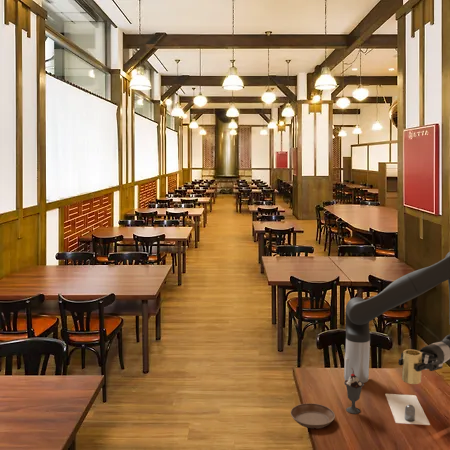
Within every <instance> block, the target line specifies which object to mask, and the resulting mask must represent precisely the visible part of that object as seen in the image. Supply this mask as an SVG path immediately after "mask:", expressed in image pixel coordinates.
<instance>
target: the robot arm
mask: <svg viewBox="0 0 450 450" xmlns="http://www.w3.org/2000/svg"><path fill="white" fill-rule="evenodd" d="M446 281H447V282H448V298H449V299H448V301H449V303H448V307H449V309H448V311H449V313H448V318H449V320H448V321H449V324H450V251H449V252H448V253H447V254H445V257H444V258H443V259H440V260H439V261H438V262H435V263H433V264H432V265H430V266H426V267H423V268H419V269H416V270H414V271H411V272H409V273H407V274H404V275H402V276H401V277H398V278H397V279H395V280H393V281H392V282H391V283H389V284H388V285H387V286H386V287H385V288H384V289H382V291H380V292H379V293H377V294H376V295H374V296H372V297H369V298H367V299H365V298H362V297H360V296H357V297H352V298H350V300H349V301H348V302H347V303H346V306H345V321H344V322H345V354H344V364H343V365H344V368H343V369H344V371H343V378H344V381H345V380H349V378H350V377H351V374H353V371H354V374H355V376H356V377H357V378H358V380H359V381H361V382H362V383H363V384H364V383H367V382H368V381H369V378H370V377H369V376H370V375H369V374H370V372H369V371H370V348H371V347H370V345H371V332H370V331H371V330H370V322H372V321H373V320H374V319H375V318H377V317H379V316H381V315H383V314H384V313H386V312H388V311H389V310H392V309H394V308H396V307H398V306H401V305H402V304H405V303H407V302H409V301H412V300H413V299H416V298H417V297H419V296H421V295H423V294H425V293H426V292H428V291H430V290H432V289H434V288H436V287H437V286H438V285H440V284H442V283H443V282H446ZM419 351H420V352H421V353H422V363H420V364H417V365H416V371H417V372H419V371H421V372H422V371H424V370H425V371H427V370H428V371H429V372H434V371H437V370H441V369H443V364H444V363H446V362H447V361H450V334H448V335H446V336H445V337H444V338H443V339H442V340H440V341H436V342H433V343H431V344H428V345H425V346H422V348H420V350H419ZM398 365H399V366H403V352H402V353H400V358H398ZM352 369H353V370H352Z"/></svg>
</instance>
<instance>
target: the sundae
mask: <svg viewBox="0 0 450 450" xmlns="http://www.w3.org/2000/svg"><path fill="white" fill-rule="evenodd" d="M352 370H353V369H352ZM343 384H344V386H345V387H346V395H347V399H349V401H350V402H351V406H348V407H346V409H345V410H346V412H347V413H348V414H352V415H357V414H359V413H361V410H360V408H359V407H356V403H357V402H358V401H359V400H360V397H361V394H362V393H361V391H362V388H363V387H364V386H365V384H364V383H362V382H361V381H359V380H358V378H357V377H356V376H355V374H354V371H353V374H351V377H350V378H349V380H345V379H344V382H343Z"/></svg>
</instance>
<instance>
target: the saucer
mask: <svg viewBox="0 0 450 450" xmlns="http://www.w3.org/2000/svg"><path fill="white" fill-rule="evenodd" d="M290 415H291V417H292V418H293V420H294V421H295V422H296V423H298V424H299V425H300V426H302V427H305V428H308V429H314V428H316V429H323V428H325V427H328V426H329V425H330V424H331V423H332V422H333V421H334V420H335V417H336V415H335V412H334V411H333V410H332V409H331V408H329V407H328V406H325V405H322V404H320V403H311V402H310V403H301V404H297V405H295V406H294V407H292V408H291V410H290Z"/></svg>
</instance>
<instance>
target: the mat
mask: <svg viewBox="0 0 450 450" xmlns="http://www.w3.org/2000/svg"><path fill="white" fill-rule="evenodd" d="M385 398H386V400H387V403H388V406H389V407H390V411H391V413H392V417H393V420H394V422H395V424H406V425H423V426H431V423H430V421H429V419H428V417H427V415H426V413H425V412H424V409H423V407H422V406H421V403H420V401H419V400H418V397H417V395H415V394H414V395H413V394H396V393H385ZM407 405H413V406H414V408H415V421H413V422H409V421H406V420H405V407H406V406H407Z"/></svg>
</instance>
